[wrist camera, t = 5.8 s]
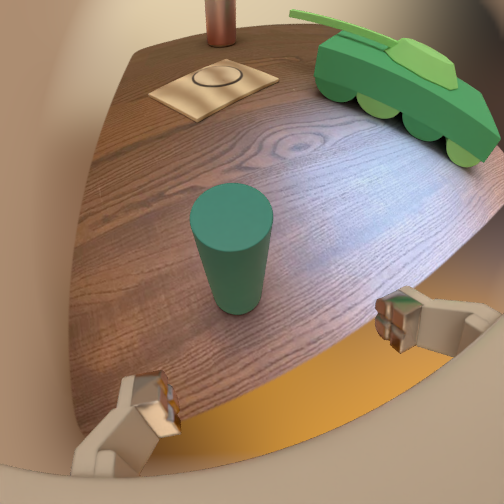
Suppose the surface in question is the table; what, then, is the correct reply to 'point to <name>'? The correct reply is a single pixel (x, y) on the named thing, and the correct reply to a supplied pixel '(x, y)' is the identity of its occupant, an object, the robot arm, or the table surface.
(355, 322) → the table surface
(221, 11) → the beverage can
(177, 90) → the board
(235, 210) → the dot marker
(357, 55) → the toy tank
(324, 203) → the table surface
